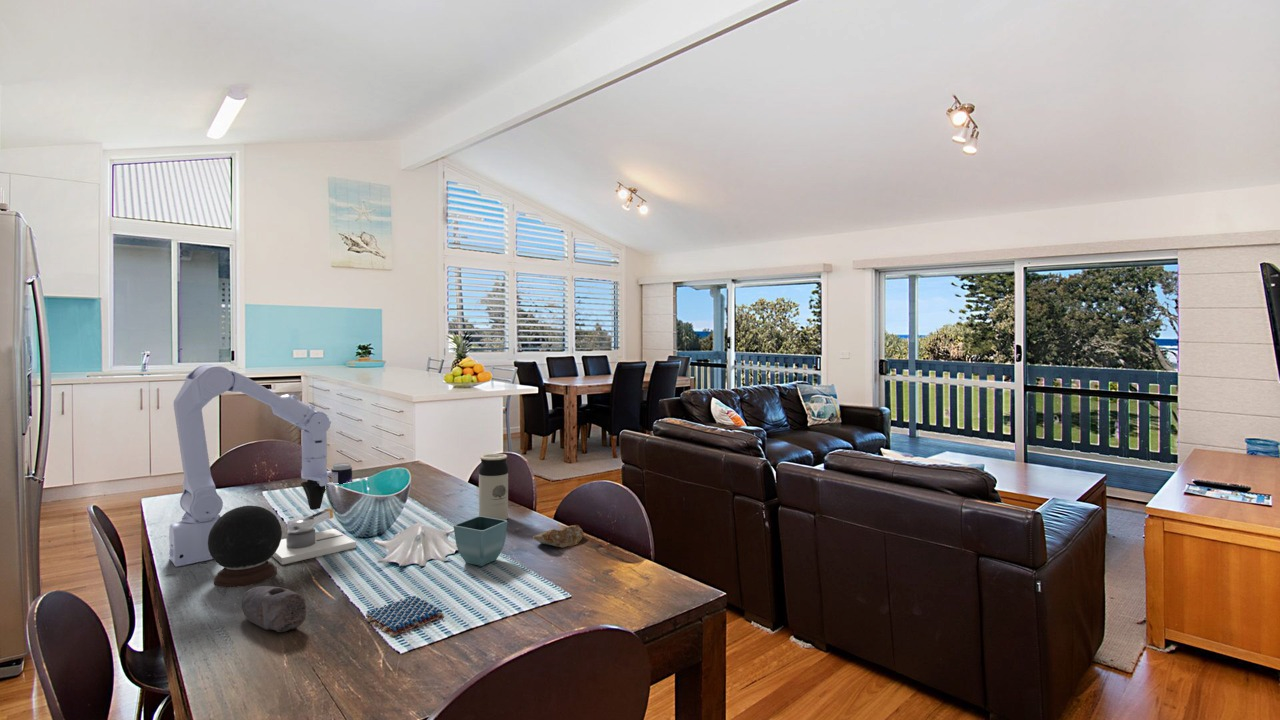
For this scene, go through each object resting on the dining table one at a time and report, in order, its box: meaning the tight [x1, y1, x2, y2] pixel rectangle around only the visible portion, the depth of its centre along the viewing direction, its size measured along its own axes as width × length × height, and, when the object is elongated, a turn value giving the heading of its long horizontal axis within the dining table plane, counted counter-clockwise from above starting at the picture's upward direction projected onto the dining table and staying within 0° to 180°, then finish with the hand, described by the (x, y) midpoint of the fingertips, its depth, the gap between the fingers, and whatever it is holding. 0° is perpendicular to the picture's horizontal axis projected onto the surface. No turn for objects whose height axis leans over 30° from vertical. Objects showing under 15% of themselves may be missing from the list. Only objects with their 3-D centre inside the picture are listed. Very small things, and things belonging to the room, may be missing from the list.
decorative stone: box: [532, 524, 584, 549], centre depth 153 cm, size 10×4×15 cm
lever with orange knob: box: [286, 508, 334, 534], centre depth 149 cm, size 14×6×2 cm, turn 171°
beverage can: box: [330, 462, 353, 484], centre depth 187 cm, size 6×6×12 cm
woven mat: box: [364, 595, 444, 637], centre depth 111 cm, size 10×11×2 cm
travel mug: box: [478, 453, 509, 520], centre depth 172 cm, size 8×8×18 cm
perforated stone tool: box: [240, 585, 307, 633], centre depth 108 cm, size 15×5×7 cm, turn 61°
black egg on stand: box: [208, 505, 283, 589], centre depth 129 cm, size 13×13×15 cm
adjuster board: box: [272, 528, 357, 565], centre depth 147 cm, size 16×14×4 cm
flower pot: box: [453, 515, 508, 567], centre depth 140 cm, size 9×9×9 cm
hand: (315, 508), depth 159 cm, fingers closed
